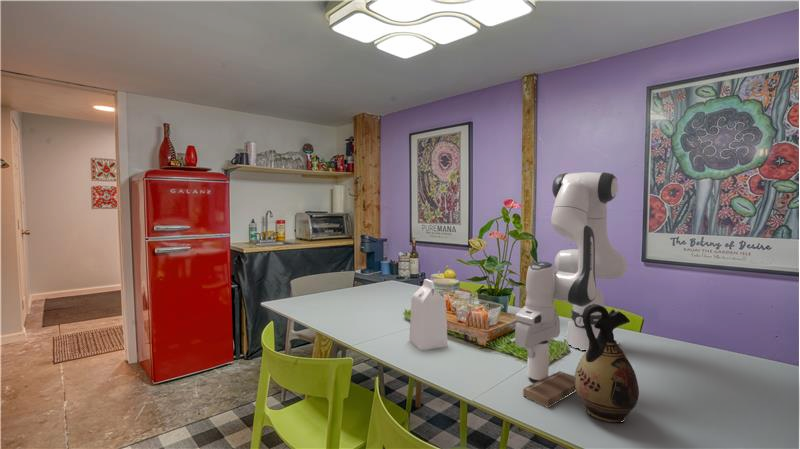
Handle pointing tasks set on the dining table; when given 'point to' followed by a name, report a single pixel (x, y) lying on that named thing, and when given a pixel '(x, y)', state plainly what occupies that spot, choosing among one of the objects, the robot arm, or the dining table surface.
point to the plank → (551, 388)
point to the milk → (428, 318)
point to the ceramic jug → (605, 369)
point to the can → (539, 362)
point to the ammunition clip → (475, 326)
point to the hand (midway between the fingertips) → (538, 354)
